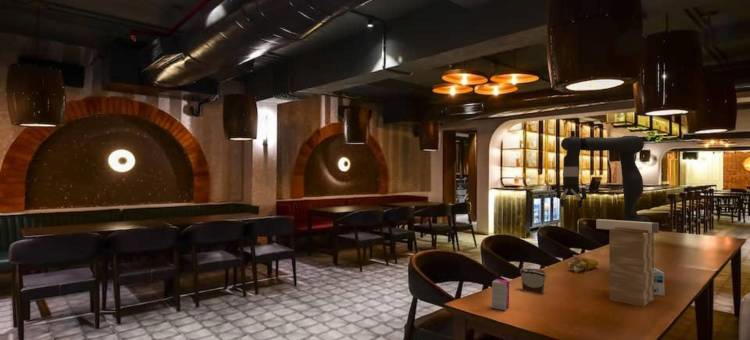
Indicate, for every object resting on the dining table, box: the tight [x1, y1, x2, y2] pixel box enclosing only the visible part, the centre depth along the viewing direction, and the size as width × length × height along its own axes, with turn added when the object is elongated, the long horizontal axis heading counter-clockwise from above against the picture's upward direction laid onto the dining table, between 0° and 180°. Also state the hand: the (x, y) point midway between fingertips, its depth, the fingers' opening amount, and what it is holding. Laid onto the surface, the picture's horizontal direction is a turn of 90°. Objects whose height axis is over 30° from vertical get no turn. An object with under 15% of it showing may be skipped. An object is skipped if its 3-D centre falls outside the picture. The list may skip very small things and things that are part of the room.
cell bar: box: [595, 218, 660, 234], centre depth 195 cm, size 4×24×4 cm, turn 50°
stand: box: [608, 227, 655, 307], centre depth 191 cm, size 15×13×31 cm
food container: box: [519, 268, 547, 295], centre depth 205 cm, size 12×6×10 cm, turn 47°
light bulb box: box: [654, 267, 666, 297], centre depth 202 cm, size 11×7×11 cm, turn 168°
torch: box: [567, 254, 599, 274], centre depth 248 cm, size 8×8×25 cm
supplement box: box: [491, 278, 510, 312], centre depth 179 cm, size 6×6×12 cm
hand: (571, 207), depth 222 cm, fingers open, 8 cm apart
